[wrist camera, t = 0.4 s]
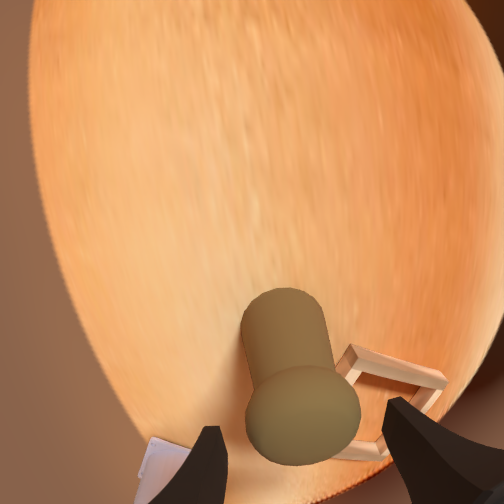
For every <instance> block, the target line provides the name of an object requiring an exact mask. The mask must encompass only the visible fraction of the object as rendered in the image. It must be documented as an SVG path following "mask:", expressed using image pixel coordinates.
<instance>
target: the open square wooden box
mask: <svg viewBox="0 0 504 504" xmlns="http://www.w3.org/2000/svg"><path fill="white" fill-rule="evenodd" d="M335 370H336V372H337V373H339V374H341V375H342V376H343V377H344V378H345V379H346V380H347V381H348V383H349V384H350V385H351V386H352V385H353V384H354V383H355V381H356V380H357V378H358V377H359V375H360V374H361V372H366V373H370V374H373V375H377V376H381V377H385V378H389V379H393V380H397V381H401V382H406V383H410V384H414V385H419V386H421V387H420V388H419V390H418V391H417V392H416V394H415V395H414V396H413V398H412V399H411V400H410V402H409V403H410V404H411V405H413V406H414V407H415V408H416V409H418V410H419V411H421V412H422V413H423V414H425V413H426V412H427V411H428V410H429V408H430V407H431V406H432V405H433V403H434V402H435V401H436V399H437V398H438V397H439V395H440V394H441V393H442V391H443V390H444V389H445V387H446V386H447V384H448V383H449V381H448V380H447V379H446V378H445V377H444V375H443V374H442V373H441V372H440V371H439V370H435V369H431V368H428V367H424V366H421V365H417V364H414V363H410V362H407V361H404V360H400V359H397V358H394V357H390V356H387V355H384V354H381V353H378V352H374V351H371V350H368V349H365V348H362V347H359V346H356V345H353V344H350V345H349V347H348V349H347V350H346V352H345V354H344V355H343V357H342V358H341V360H340V361H339V363H338V365H337V366H336V368H335ZM389 454H390V452H389V450H388V448H387V445H386V442H385V439H384V436H383V434H382V435H381V436H380V437H379V439H378V440H377V441H376V442H366V441H357V440H352V441H351V443H350V444H349V445H348V446H347V447H346V448H345V449H343V450H342V451H341V452H340V453H338V454H337V455H335V456H333V457H331V458H339V459H349V460H363V461H383V460H384V459H385V458H386V457H387V456H388V455H389Z"/></svg>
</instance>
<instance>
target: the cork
mask: <svg viewBox="0 0 504 504" xmlns="http://www.w3.org/2000/svg"><path fill="white" fill-rule="evenodd" d="M241 334H242V339H243V343H244V348H245V352H246V356H247V361H248V365H249V369H250V374H251V378H252V382H253V386H254V392H253V394H252V397H251V399H250V402H249V404H248V407H247V409H246V415H245V422H246V432H247V435H248V438H249V440H250V442H251V443H252V445H253V446H254V448H255V449H256V450H257V451H258V452H259V453H260V454H261V455H262V456H263V457H265V458H266V459H268V460H269V461H271V462H275V463H278V464H281V465H289V466H302V465H311V464H314V463H318V462H321V461H324V460H327V459H329V458H331V457H333V456H335V455H337V454H338V453H340V452H341V451H342V450H343V449H345V448H346V447H347V446H348V445H349V444H350V443H351V441H352V440H353V438H354V437H355V435H356V433H357V430H358V427H359V424H360V420H361V408H360V404H359V399H358V396H357V394H356V392H355V390H354V388H353V387H352V386H351V385H350V384H349V383H348V381H347V380H346V379H345V378H344V377H343V376H342V375H341V374H339V373H337V372H336V370H335V365H334V360H333V355H332V350H331V345H330V340H329V336H328V331H327V327H326V322H325V318H324V314H323V311H322V308H321V306H320V305H319V304H318V302H317V301H316V300H315V298H313V297H312V296H310V295H309V294H307V293H306V292H304V291H301V290H297V289H293V288H276V289H273V290H270V291H268V292H265V293H262V294H261V295H260V296H258V297H257V298H256V299H254V300H253V301H252V302H251V303H250V305H249V306H248V307H247V309H246V310H245V311H244V315H243V318H242V321H241Z"/></svg>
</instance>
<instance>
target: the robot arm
mask: <svg viewBox="0 0 504 504" xmlns="http://www.w3.org/2000/svg"><path fill="white" fill-rule="evenodd" d="M382 433H383V436H384V439H385V442H386V445H387V448H388V450H389V452H390V454H391V456H392V458H393V460H394V462H395V464H396V466H397V468H398V470H399V472H400V474H401V476H402V478H403V480H404V482H405V484H406V487H407V489H408V492H409V495H410V498H411V501H412V504H504V450H502V449H497V448H492V447H488V446H485V445H482V444H478V443H476V442H473V441H470V440H468V439H465V438H464V437H461V436H459V435H457V434H455V433H453V432H451V431H449V430H448V429H446V428H444V427H442V426H441V425H439V424H438V423H436V422H435V421H433V420H432V419H430V418H429V417H427V416H426V415H425V414H423V413H422V412H421V411H419V410H418V409H416V408H415V407H414V406H413V405H411V404H410V403H409V402H407V401H406V400H405V399H403V398H402V397H401V396H400V397H396V398H393V399H389V400H388V402H387V407H386V412H385V417H384V421H383V426H382ZM227 475H228V453H227V450H226V447H225V444H224V440H223V437H222V433H221V430H220V426H205V427H204V428H203V429H202V431H201V433H200V435H199V437H198V439H197V441H196V443H195V445H194V446H193V448H192V450H191V449H188V448H185V447H182V446H179V445H176V444H173V443H170V442H168V441H165V440H162V439H159V438H157V437H151V438H150V441H149V444H148V447H147V450H146V453H145V456H144V459H143V461H142V465H141V467H140V470H139V473H138V477H139V478H141V481H140V484H139V487H138V490H137V493H136V497H135V500H134V503H133V504H224V498H225V490H226V483H227Z"/></svg>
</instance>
